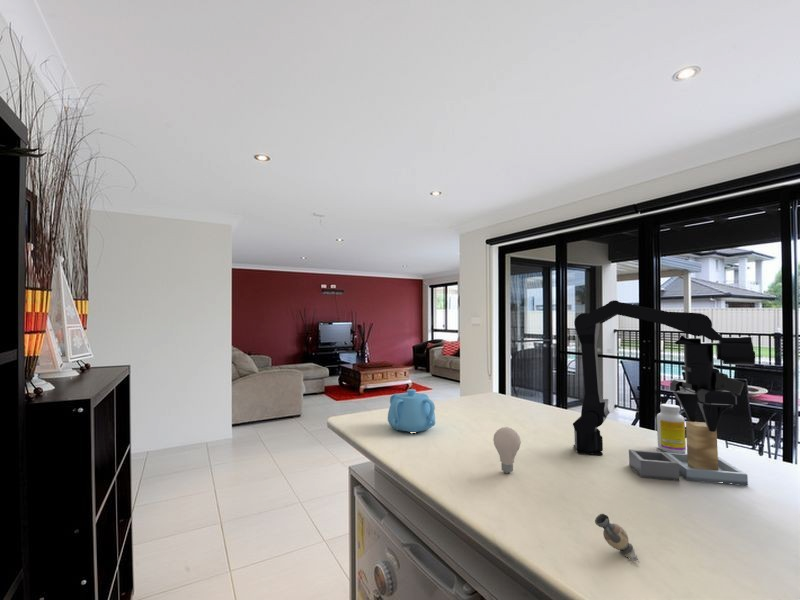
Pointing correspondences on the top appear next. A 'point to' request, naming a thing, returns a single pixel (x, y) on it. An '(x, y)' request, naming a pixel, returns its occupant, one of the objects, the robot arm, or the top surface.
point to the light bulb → (507, 447)
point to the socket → (654, 465)
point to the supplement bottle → (671, 429)
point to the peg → (701, 446)
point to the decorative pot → (411, 411)
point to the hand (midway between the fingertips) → (701, 426)
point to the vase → (616, 537)
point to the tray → (710, 471)
